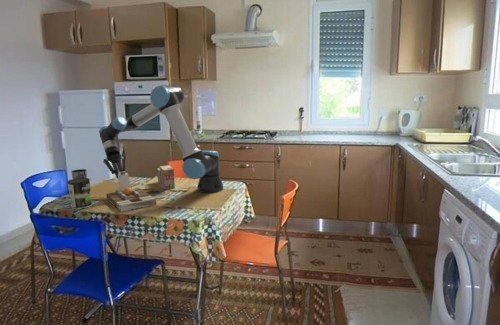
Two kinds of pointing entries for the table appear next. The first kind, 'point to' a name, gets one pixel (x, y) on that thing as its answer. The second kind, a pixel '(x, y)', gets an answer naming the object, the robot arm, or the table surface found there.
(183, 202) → the table surface
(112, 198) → the wooden tray
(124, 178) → the pale grey bottle
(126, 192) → the ball
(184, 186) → the table surface
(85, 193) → the coffee can
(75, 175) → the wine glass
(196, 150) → the robot arm
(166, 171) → the printed cardboard box
